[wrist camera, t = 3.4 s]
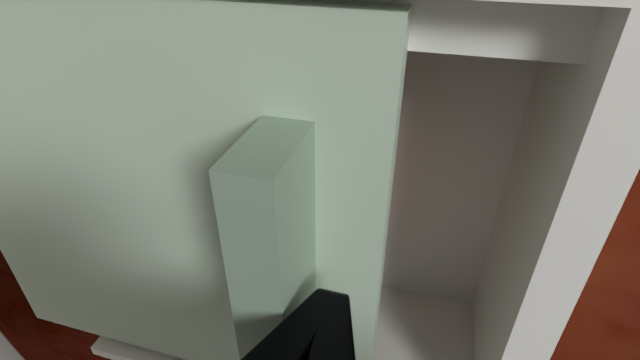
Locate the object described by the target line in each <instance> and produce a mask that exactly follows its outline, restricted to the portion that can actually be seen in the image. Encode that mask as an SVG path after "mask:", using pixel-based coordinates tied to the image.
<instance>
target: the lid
mask: <svg viewBox="0 0 640 360" xmlns="http://www.w3.org/2000/svg"><path fill="white" fill-rule="evenodd" d="M411 13H412V3H393V2H375V1H357V0H0V250H1V252H2V254H3V256H4V257H5V259H6V261H7V263H8V265H9V267H10V269H11V270H12V272H13V274H14V276H15V278H16V280H17V282H18V283H19V285H20V287H21V289H22V291H23V293H24V295H25V296H26V298H27V300H28V302H29V304H30V306H31V308H32V309H33V311H34V313H35V315H36V317H37V318H40V319H43V320H47V321H50V322H54V323H57V324H61V325H65V326H68V327H72V328H75V329H79V330H82V331H86V332H89V333H93V334H96V335H100V336H104V337H107V338H111V339H114V340H118V341H121V342H125V343H128V344H132V345H135V346H139V347H142V348H146V349H150V350H153V351H157V352H160V353H164V354H167V355H171V356H174V357H178V358H181V359H185V360H241V359H242V358H243V357H244V356H245V355H246V354H247V353H248V352H249V351H250V350H251V349H253V348H254V347H255V346H256V345H257V344H258V343H259V342H260V341H261V340H262V339H263V338H264V337H265V336H267V335H268V334H269V333H270V332H271V331H272V330H273V329H274V328H275V327H276V326H277V325H278V324H280V323H281V322H282V321H283V320H284V319H285V318H286V317H287V316H288V315H289V314H290V313H291V312H292V311H294V310H295V309H296V308H297V307H298V306H299V305H300V304H301V303H302V302H303V301H304V300H305V299H306V298H308V297H309V296H310V295H311V294H312V293H313V292H314V291H315V290H316V289H318V288H323V289H327V290H331V291H336V292H340V293H345V294H348V295H349V298H350V307H351V318H352V328H353V338H354V348H355V358H356V360H373V359H374V349H375V340H376V331H377V322H378V313H379V304H380V295H381V286H382V277H383V268H384V258H385V249H386V240H387V231H388V222H389V213H390V204H391V195H392V186H393V177H394V167H395V158H396V149H397V140H398V131H399V122H400V113H401V104H402V95H403V86H404V76H405V67H406V58H407V49H408V40H409V31H410V22H411Z"/></svg>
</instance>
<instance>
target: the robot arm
mask: <svg viewBox="0 0 640 360" xmlns="http://www.w3.org/2000/svg"><path fill="white" fill-rule="evenodd" d="M241 360H356V358H355V348H354V338H353V328H352V318H351V307H350V298H349V295H348V294H345V293H340V292H336V291H331V290H327V289H323V288H318V289H316V290H315V291H314V292H313V293H312V294H311V295H310V296H309V297H308V298H306V299H305V300H304V301H303V302H302V303H301V304H300V305H299V306H298V307H297V308H296V309H295V310H294V311H292V312H291V313H290V314H289V315H288V316H287V317H286V318H285V319H284V320H283V321H282V322H281V323H280V324H278V325H277V326H276V327H275V328H274V329H273V330H272V331H271V332H270V333H269V334H268V335H267V336H265V337H264V338H263V339H262V340H261V341H260V342H259V343H258V344H257V345H256V346H255V347H254V348H253V349H251V350H250V351H249V352H248V353H247V354H246V355H245V356H244V357H243V358H242V359H241Z"/></svg>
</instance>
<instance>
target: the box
mask: <svg viewBox="0 0 640 360" xmlns="http://www.w3.org/2000/svg"><path fill="white" fill-rule="evenodd" d="M357 1H375V2H393V3H412V13H411V22H410V31H409V40H408V49H407V58H406V67H405V76H404V86H403V95H402V104H401V113H400V122H399V131H398V140H397V149H396V158H395V167H394V177H393V186H392V195H391V204H390V213H389V222H388V231H387V240H386V249H385V258H384V268H383V277H382V286H381V295H380V304H379V313H378V322H377V331H376V340H375V349H374V359H373V360H550V358H551V356H552V354H553V352H554V349H555V347H556V345H557V343H558V341H559V339H560V337H561V335H562V332H563V330H564V328H565V326H566V324H567V322H568V320H569V317H570V315H571V313H572V311H573V309H574V307H575V305H576V303H577V300H578V298H579V296H580V294H581V292H582V290H583V288H584V286H585V283H586V281H587V279H588V277H589V275H590V273H591V271H592V269H593V266H594V264H595V262H596V260H597V258H598V256H599V254H600V252H601V249H602V247H603V245H604V243H605V241H606V239H607V237H608V235H609V232H610V230H611V228H612V226H613V224H614V222H615V220H616V218H617V215H618V213H619V211H620V209H621V207H622V205H623V203H624V201H625V198H626V196H627V194H628V192H629V190H630V188H631V186H632V184H633V181H634V179H635V177H636V175H637V173H638V171H639V169H640V0H357ZM90 348H91V350H92V352H93V354H95V355H99V356H102V357H105V358H109V359H112V360H185V359H181V358H178V357H174V356H171V355H167V354H164V353H160V352H157V351H153V350H150V349H146V348H142V347H139V346H135V345H132V344H128V343H125V342H121V341H118V340H114V339H111V338H107V337H104V336H100V337H99V338H98V339H97V340H96V342H95V343H94V344H93V345H92V346H91V347H90Z"/></svg>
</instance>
